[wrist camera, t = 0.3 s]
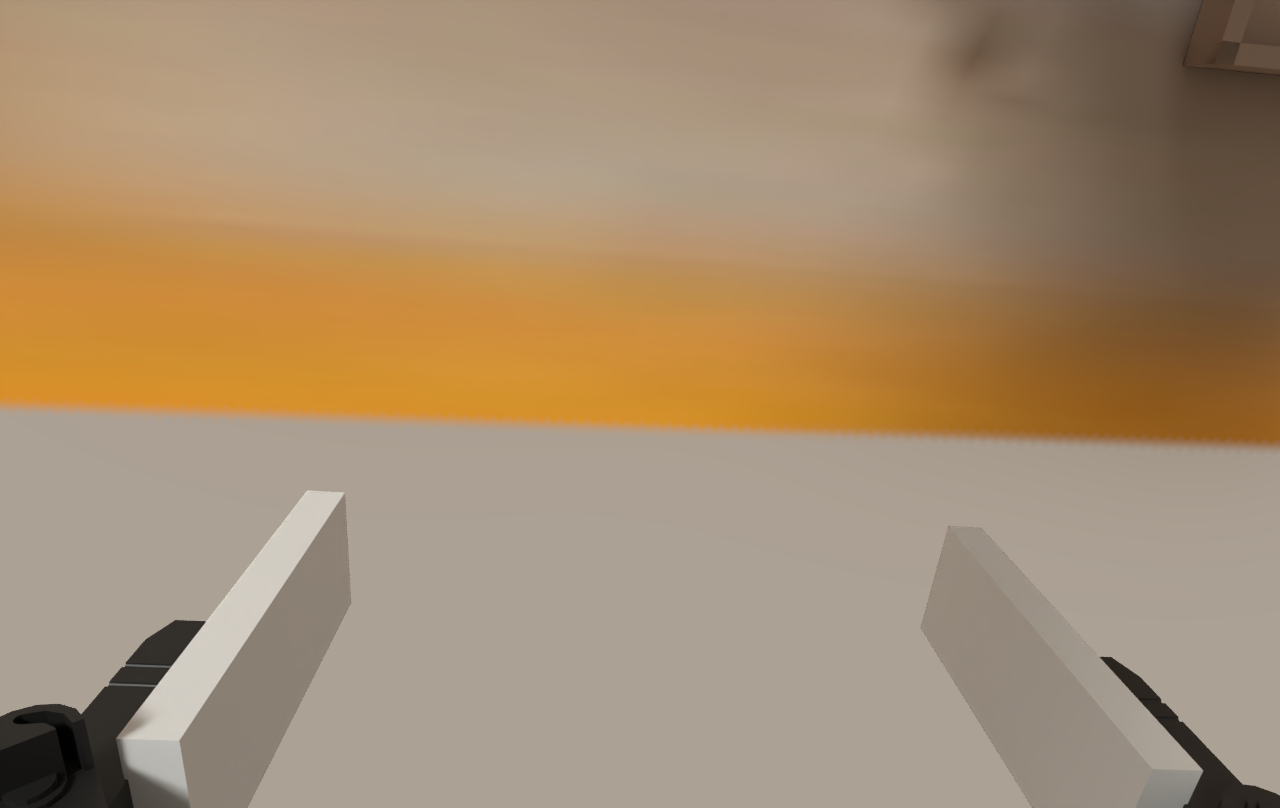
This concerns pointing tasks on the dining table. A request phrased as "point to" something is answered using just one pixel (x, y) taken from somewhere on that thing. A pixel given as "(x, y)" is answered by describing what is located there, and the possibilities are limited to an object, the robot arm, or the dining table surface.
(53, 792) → the robot arm
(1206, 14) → the tray
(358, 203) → the dining table surface
